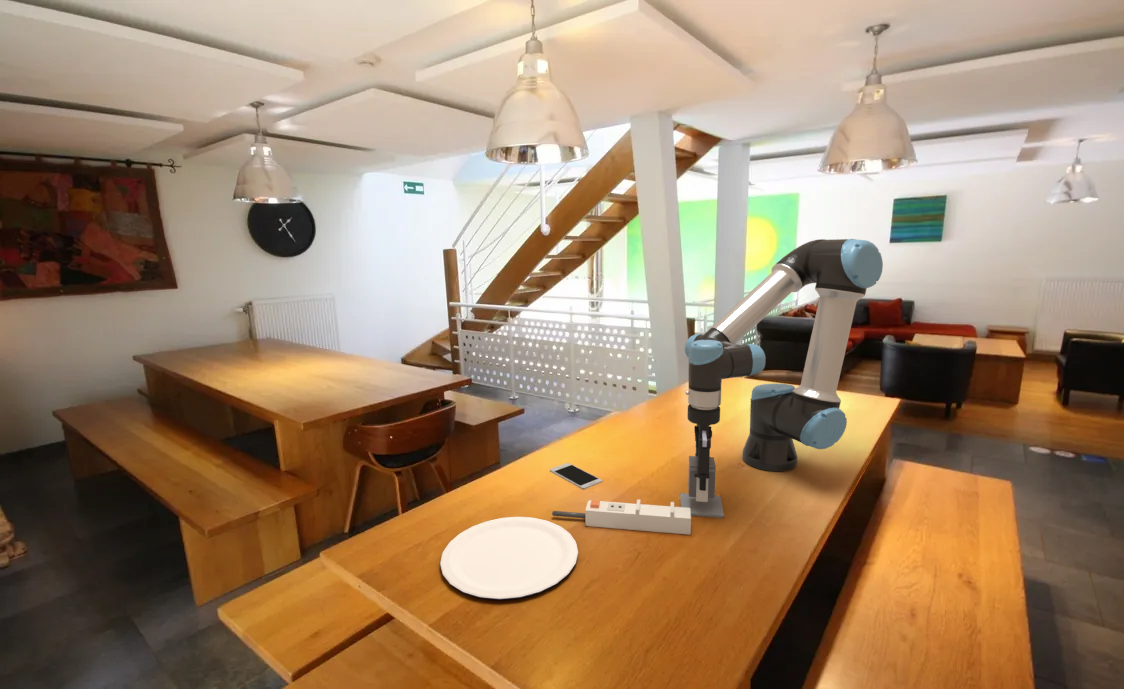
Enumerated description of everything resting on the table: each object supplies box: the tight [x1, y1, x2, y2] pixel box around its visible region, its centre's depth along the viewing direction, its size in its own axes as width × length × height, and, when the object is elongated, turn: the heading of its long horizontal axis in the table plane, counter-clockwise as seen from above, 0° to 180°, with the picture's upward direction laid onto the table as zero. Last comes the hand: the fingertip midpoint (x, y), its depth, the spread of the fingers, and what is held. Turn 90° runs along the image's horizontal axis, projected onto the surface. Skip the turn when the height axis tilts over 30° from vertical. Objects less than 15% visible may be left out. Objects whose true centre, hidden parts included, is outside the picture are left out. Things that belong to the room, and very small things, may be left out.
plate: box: [439, 516, 579, 601], centre depth 113 cm, size 29×29×2 cm
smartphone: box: [549, 462, 603, 490], centre depth 150 cm, size 7×16×1 cm, turn 38°
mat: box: [679, 492, 725, 519], centre depth 131 cm, size 10×10×1 cm
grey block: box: [687, 455, 717, 498], centre depth 130 cm, size 6×6×8 cm
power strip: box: [551, 499, 692, 536], centre depth 124 cm, size 33×5×5 cm, turn 78°
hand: (701, 494), depth 131 cm, fingers closed on grey block, 6 cm apart
